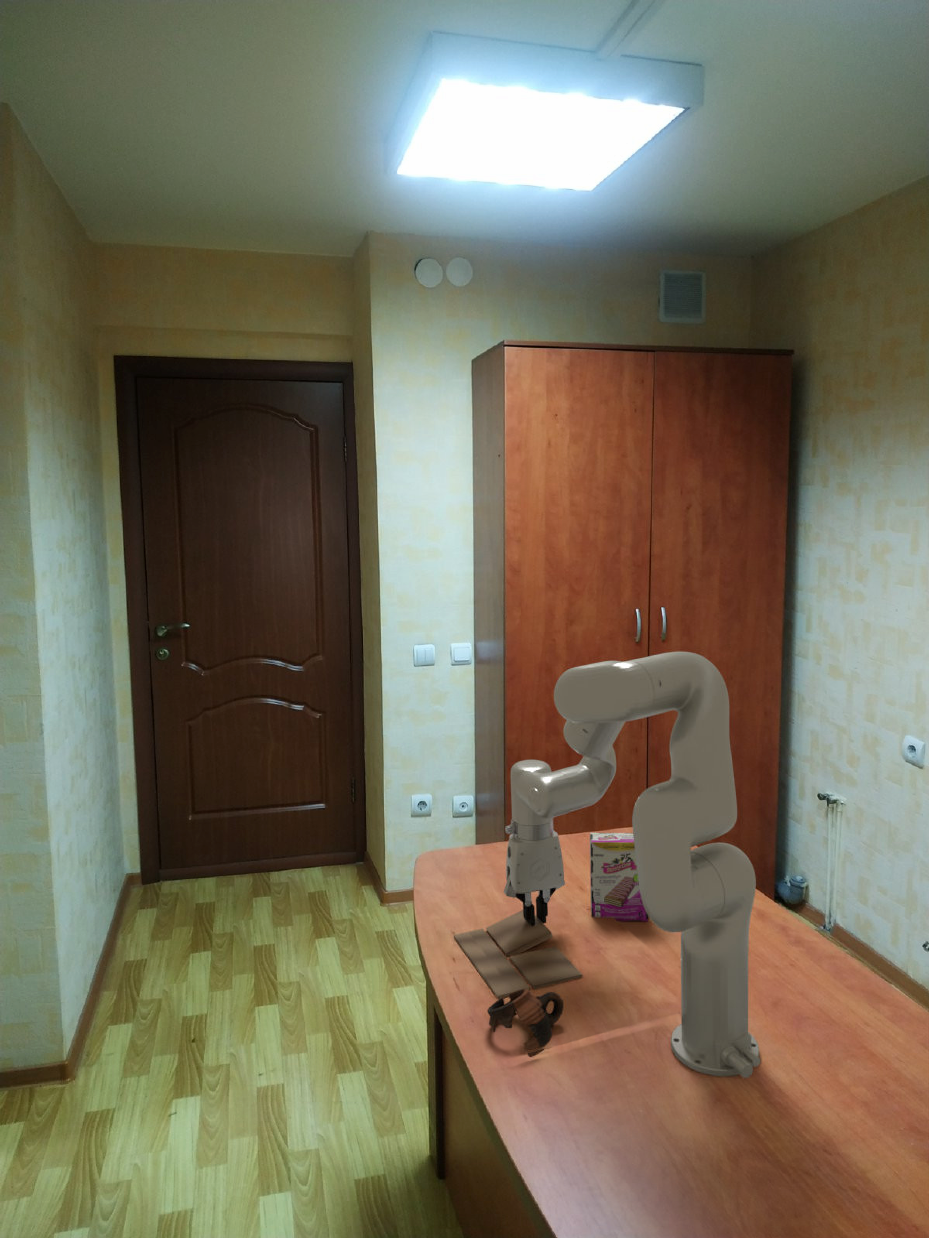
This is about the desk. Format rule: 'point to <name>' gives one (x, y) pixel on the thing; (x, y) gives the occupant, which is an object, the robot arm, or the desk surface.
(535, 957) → the plank
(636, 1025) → the desk surface
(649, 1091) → the desk surface
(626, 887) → the candy bar box
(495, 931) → the plank
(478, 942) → the laid strip
